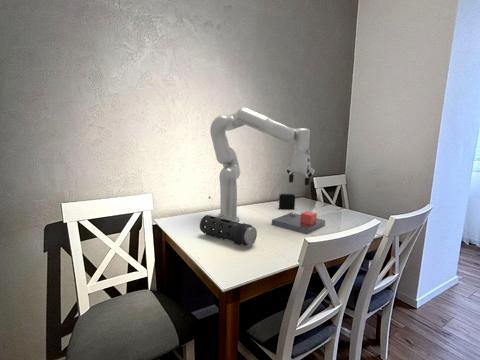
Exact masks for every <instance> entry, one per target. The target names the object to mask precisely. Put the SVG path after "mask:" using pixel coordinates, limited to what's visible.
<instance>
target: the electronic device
mask: <svg viewBox="0 0 480 360" xmlns="http://www.w3.org/2000/svg"><path fill="white" fill-rule="evenodd" d="M278 197H279V198H278V208H279V210H280V211H281V210H283V211H285V210H286V211H288V210H289V211H293V210H295V207H296V206H295V205H296V195H295V194H294V193H279V194H278Z"/></svg>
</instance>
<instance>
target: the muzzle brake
mask: <svg viewBox="0 0 480 360" xmlns="http://www.w3.org/2000/svg"><path fill="white" fill-rule="evenodd" d="M199 230H200V232H202V233H203V234H205V235H207V236H209V237H213V238H216V239H220V240H224V241H225V240H226V241H229V242H233V244H235V245H237V246H238V245H239V246H240V245H242V246H244V247H245V246H246V247H247V246H253V245H254V243H255V242H256V241H257V238H258V237H257V236H258V231H257V229H256V228H255V227H254V226H253V225H251V224H248V223H244V222H243V223H241V222H239V221H238V222H234V221H230V220H226V219H222V218H218V217H216V216H214V215H210V214H206V215H204V216H203V217H202V218H201V219H200V221H199Z"/></svg>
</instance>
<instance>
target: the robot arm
mask: <svg viewBox="0 0 480 360" xmlns="http://www.w3.org/2000/svg"><path fill="white" fill-rule="evenodd" d="M244 126H247V127H250V128H252V129H254V130H257V131H259V132H261V133H263V134H266V135H269V136H271V137H273V138H275V139H278V140H279V141H282V142H285V143H289V142H294V147H293V154H292V156H291V160H290V161H291V162H290V164H288V165H286V166H285V170H286V173H287V174H288V183H293V182H294V178H295V177H294V174H302V175H304V176H305V178H304V186H309V185H310V179H311V177H312V176H314V173H315V172H316V169H314V168H312V167H311V156H310V153H311V150H310V136H311V132H310V129H309V128H306V127H305V128H301V127H300V128H299V127H298V128H292V127H290V126H287V125H285V124H282V123H280V122H277V121H275V120H274V119H272V118H271V117H269V116H266V115H264V114H261V113H260V112H257V111H255V110H252V109H250V108H249V107H244V106H243V107H240V108H238V110H237V112H234V113H231V114H229V115H227V114H221V115H220V114H219V115H218V116H216V117H215V118H214V120H212V123H211V124H210V129H209V130H210V131H209V133H210V137H211V141H212V146H213V150H214V152H215V153H214V154H215V157H216V160H217V162H218V163H219V164H220V165H222V166H223V168H222V169H221V170H220V172H219V175H218V176H219V177H218V179H219V188H220V189H219V191H220V194H219V195H220V198H219V199H220V200H219V201H220V202H219V203H220V205H219V207H220V213H218V215H217V216H215V217H218V218H222V219H226V220H230V221H234V222H238V223H239V222H240V217H239V216H237V215H238V210H237V209H238V185H237V180H238V179H239V178H240V175H241V169H240V165H239V160H238V156H237V154H236V151H235V150H234V148H232V147H230V144H229V140H228V136H227V134H226V131H233V130H236V129H238V128H240V127H241V128H242V127H244Z"/></svg>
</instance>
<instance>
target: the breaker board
mask: <svg viewBox="0 0 480 360" xmlns="http://www.w3.org/2000/svg"><path fill="white" fill-rule="evenodd" d="M300 220H301V213H300V214H299V213H295V212H290V213H287V214H284V215H281V216H279V217H278V216H277V217H276V218H273V219H271V226H275V227H279V228H283V229H286V230H290V231H293V232H297V233H301V234H304V235H310V234H311V233H313V232H315V231H317V230H319V229H320V228H322V227H326V219H321V218H316V223H314V224H311V225H309V224H305V223H301V222H300Z"/></svg>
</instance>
